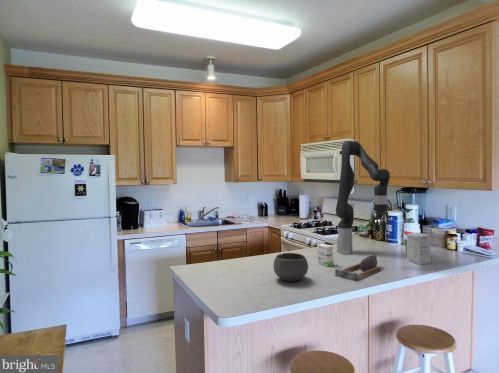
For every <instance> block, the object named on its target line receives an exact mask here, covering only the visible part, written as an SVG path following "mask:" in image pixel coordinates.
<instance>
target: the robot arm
mask: <svg viewBox="0 0 499 373" xmlns="http://www.w3.org/2000/svg"><path fill="white" fill-rule="evenodd" d="M351 156H356V157H357V158H359V160H360V165H361V166H362V167H363V168H364V170H365V171H366V172H367V173H368V174H369V177H370V179H371V180H373V181H374V182H379V183H378V184H377V185H374V189H373V194H374V196H373V211H374V212H376V213H373V214H372V216H373V218H372V224H373V225H375V226H374V228H375V232H380V230H381V227H380V224H381V223H382V224H381V225H382V230H387V223H389V222H390V221H389V210H388V209H389V208H388V205H389V202H388V186H389V182H390V179H391V174H390V171H389V169H387V168H379V164H378V163H377V162H376V161H374V159H373V158H372V157H370V156H369V154H368V153H367V152H366V150H365V149H364V148H363V146H362V144H360V143H359V141H355V140H354V141H353V140H345V141H343V143H342V145H341V164H340V175H339V188H338V194H337V195H338V196H337V202H336V206H335V215H336V216H337V217H338V219H339V218H340V221H339V222H338V223H337V233H338V234H337V235H338V237H337V238H336V249H337V250H336V252H337V253H339V254H340V255H351V254H353V224H354V220H355V219H354V216H355V212H354V211H355V210H354V207H353V205H351V204H350V203H348V202H349V198H350V195H351V193H352V190H353V188H354V185H355V178H356V177H355V172H354V169H353V167H352V165H351Z"/></svg>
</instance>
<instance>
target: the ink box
mask: <svg viewBox="0 0 499 373" xmlns="http://www.w3.org/2000/svg"><path fill="white" fill-rule="evenodd" d="M316 246H317V248H316V249H317V250H316V251H317V253H316V254H317V264H318V263H319V264H318V265H321V264H322V265H321V266H324V265H325V267H331V266H334V255H333V254H334V250H333V248H334V247H333V245H330V244H326V243H320V244H319V243H318V244H317V245H316Z"/></svg>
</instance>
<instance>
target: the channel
mask: <svg viewBox="0 0 499 373" xmlns="http://www.w3.org/2000/svg"><path fill="white" fill-rule="evenodd" d="M360 263H361V262H359V263H356V264H355V265H351V266H348V267H346V268H343V269H342V268H341V269H340V268H335V272H334V274H335V277H338V278H341V279H342V278H343V279H347V280H350V281H354V282H356V281H358V280H361V279H363V278H366V277H369V276H370V275H373V274H376V273H377V272H379V271H381V266H376V267H374V268H372V269H370V270H364V271H363V272H360V273H357V272H354V271H355V270H359V269H361V268H360Z"/></svg>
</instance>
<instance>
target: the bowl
mask: <svg viewBox="0 0 499 373" xmlns="http://www.w3.org/2000/svg"><path fill="white" fill-rule="evenodd" d="M308 270H309V263H308V260H307V258H306V256H305V255H303V254H301V253H297V252H296V253H295V252H285V253H280V254H277V255H276V256H275V258H274V260H273V271H274V274H275V275H276V276H277V277H278V278H279V279H281V280H283V281H285V282H297V281H299V280H302V279H303V278H305V277H306V276H307V273H308Z"/></svg>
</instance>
